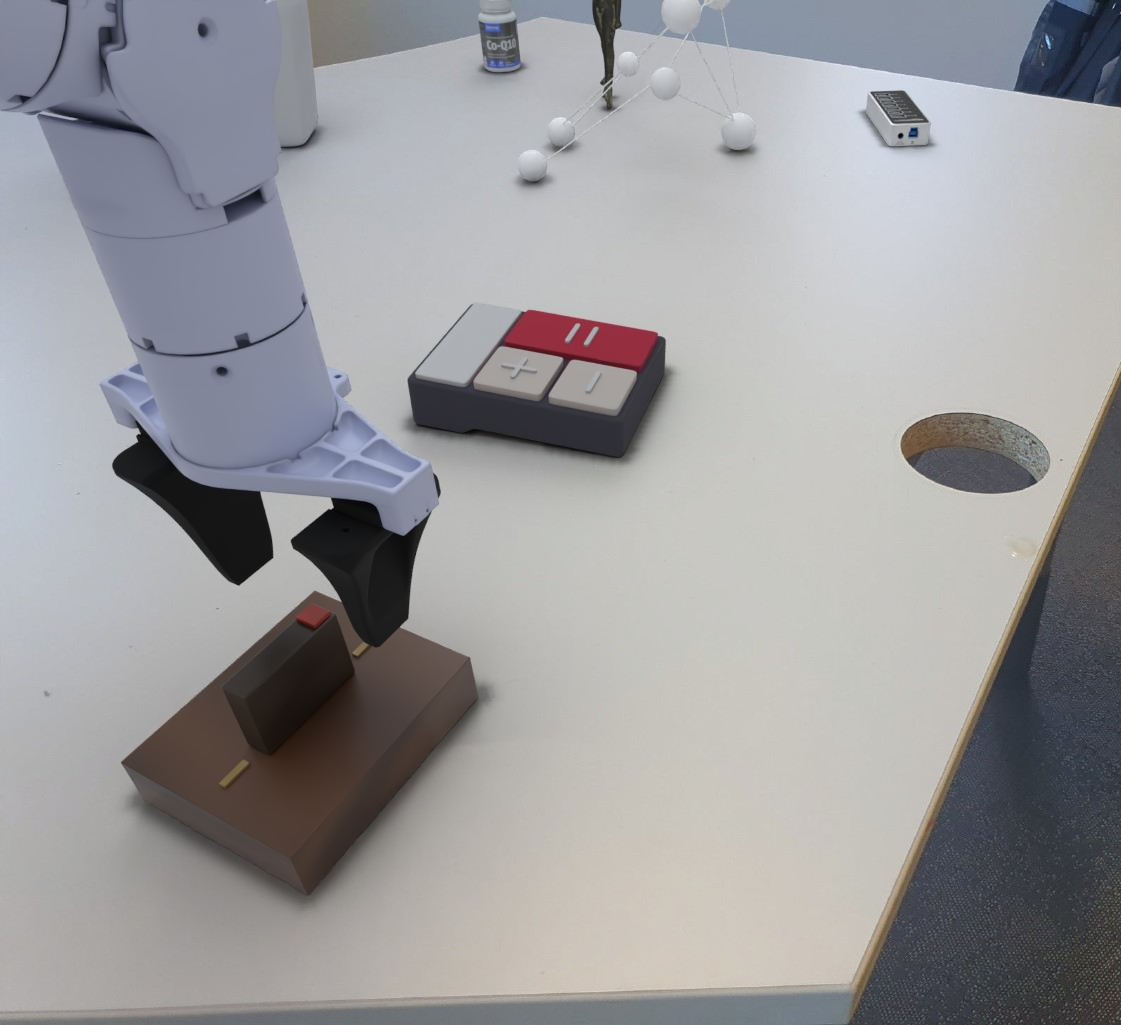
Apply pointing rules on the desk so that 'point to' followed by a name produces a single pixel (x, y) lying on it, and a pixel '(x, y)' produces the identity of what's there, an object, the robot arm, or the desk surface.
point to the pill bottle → (499, 36)
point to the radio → (295, 76)
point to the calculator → (539, 378)
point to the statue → (607, 38)
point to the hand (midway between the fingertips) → (317, 598)
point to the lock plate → (307, 754)
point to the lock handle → (289, 678)
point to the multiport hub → (898, 118)
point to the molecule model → (665, 84)
